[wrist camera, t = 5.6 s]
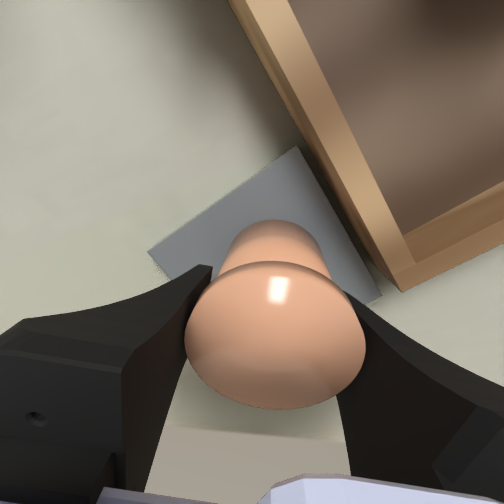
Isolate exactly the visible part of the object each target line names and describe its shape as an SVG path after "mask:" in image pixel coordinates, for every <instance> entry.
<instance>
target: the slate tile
mask: <svg viewBox="0 0 504 504" xmlns="http://www.w3.org/2000/svg"><path fill="white" fill-rule="evenodd" d="M264 220H284V221H289V222H292V223H295V224H297V225H299V226H301V227H302V228H304V229H305V230H307V231H308V232H309V233H310V234H311V235H312V236H313V237H314V238H315V239H316V241H317V243H318V244H319V247H320V249H321V251H322V254H323V257H324V260H325V262H326V265H327V268H328V270H329V273H330V276H331V278H332V281H333V282H334V283H335V284H337V285H338V286H339V287H340V288H341V290H343V291H345V292H347V293H349V294H350V295H352V296H353V297H354V298H356V299H357V300H359V301H360V302H361V303H362V304H366V303H368V302H370V301H372V300H374V299H376V298H378V297H380V296H382V294H381V292H380V291H379V289H378V287H377V285H376V284H375V282H374V280H373V278H372V277H371V275H370V273H369V271H368V270H367V268H366V266H365V264H364V263H363V261H362V259H361V257H360V256H359V254H358V252H357V250H356V248H355V247H354V245H353V243H352V241H351V240H350V238H349V236H348V234H347V233H346V231H345V229H344V227H343V226H342V224H341V222H340V220H339V219H338V217H337V215H336V213H335V212H334V210H333V208H332V206H331V205H330V203H329V201H328V199H327V198H326V196H325V194H324V192H323V190H322V189H321V187H320V185H319V183H318V182H317V180H316V178H315V176H314V175H313V173H312V171H311V169H310V168H309V166H308V164H307V162H306V161H305V159H304V157H303V155H302V154H301V152H300V150H299V148H298V147H297V146H294V147H293V148H291V149H290V150H289V151H287V152H286V153H284V154H283V155H282V156H280V157H279V158H277V159H276V160H275V161H273V162H272V163H270V164H269V165H267V166H266V167H265V168H263V169H262V170H260V171H259V172H258V173H256V174H255V175H253V176H252V177H250V178H249V179H248V180H246V181H245V182H243V183H242V184H241V185H239V186H238V187H236V188H235V189H234V190H232V191H231V192H229V193H228V194H226V195H225V196H224V197H222V198H221V199H219V200H218V201H217V202H215V203H214V204H212V205H211V206H210V207H208V208H207V209H205V210H204V211H202V212H201V213H200V214H198V215H197V216H195V217H194V218H193V219H191V220H190V221H188V222H187V223H186V224H184V225H183V226H181V227H180V228H178V229H177V230H176V231H174V232H173V233H171V234H170V235H169V236H167V237H166V238H164V239H163V240H161V241H160V242H159V243H157V244H156V245H154V246H153V247H152V248H151V249H150V250H148V251H147V253H148V254H149V255H150V256H151V257H152V258H153V260H154V261H155V262H156V263H157V264H158V265H159V266H160V267H161V269H162V270H163V271H164V272H165V273H166V274H167V275H168V276H169V278H170V279H171V280H173V279H175V278H177V277H179V276H180V275H182V274H184V273H185V272H187V271H189V270H190V269H192V268H193V267H195V266H197V265H198V264H202V265H208V266H213V270H212V277H211V282H212V281H213V280H214V279H215V278H217V276H218V273H219V271H220V269H221V266H222V264H223V261H224V259H225V256H226V254H227V251H228V249H229V247H230V245H231V243H232V241H233V240H234V238H235V237H236V236H237V235H238V234H239V233H240V232H241V231H242V230H243V229H245V228H246V227H248V226H250V225H252V224H254V223H257V222H260V221H264Z"/></svg>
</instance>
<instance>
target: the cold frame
mask: <svg viewBox="0 0 504 504" xmlns="http://www.w3.org/2000/svg"><path fill="white" fill-rule="evenodd" d="M227 1H228V3H229V5H230V7H231V8H232V10H233V12H234V14H235V16H236V17H237V19H238V21H239V23H240V25H241V26H242V28H243V30H244V32H245V34H246V35H247V37H248V39H249V41H250V43H251V44H252V46H253V48H254V50H255V52H256V53H257V55H258V57H259V59H260V61H261V62H262V64H263V66H264V68H265V70H266V71H267V73H268V75H269V77H270V79H271V80H272V82H273V84H274V86H275V88H276V89H277V91H278V93H279V95H280V97H281V98H282V100H283V102H284V104H285V106H286V107H287V109H288V111H289V113H290V115H291V116H292V118H293V120H294V122H295V124H296V125H297V127H298V129H299V131H300V133H301V134H302V136H303V138H304V140H305V142H306V143H307V145H308V147H309V149H310V151H311V153H312V154H313V156H314V158H315V160H316V162H317V163H318V165H319V167H320V169H321V171H322V172H323V174H324V176H325V178H326V180H327V181H328V183H329V185H330V187H331V189H332V190H333V192H334V194H335V196H336V198H337V199H338V201H339V203H340V205H341V207H342V208H343V210H344V212H345V214H346V216H347V217H348V219H349V221H350V223H351V225H352V226H353V228H354V230H355V232H356V234H357V235H358V237H359V239H360V241H361V243H362V244H363V246H364V248H365V250H366V252H367V253H368V255H369V257H370V259H371V261H372V262H373V264H374V265H375V266H376V267H377V268H378V269H379V270H380V271H381V272H382V273H383V274H384V275H385V276H386V277H387V278H388V279H389V280H390V281H391V282H392V283H393V284H394V285H395V286H396V287H397V288H398V289H399V290H400V291H401V292H404V291H406V290H408V289H410V288H412V287H414V286H416V285H418V284H420V283H422V282H424V281H427V280H429V279H431V278H433V277H435V276H437V275H439V274H441V273H443V272H445V271H447V270H449V269H451V268H453V267H455V266H457V265H459V264H461V263H463V262H466V261H468V260H470V259H472V258H474V257H476V256H478V255H480V254H482V253H484V252H486V251H488V250H490V249H492V248H494V247H496V246H498V245H500V244H503V243H504V0H227Z"/></svg>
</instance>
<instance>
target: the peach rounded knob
mask: <svg viewBox="0 0 504 504" xmlns="http://www.w3.org/2000/svg"><path fill="white" fill-rule="evenodd" d="M184 342H185V350H186V354H187V357H188V359H189V361H190V364H191V365H192V367H193V369H194V370H195V372H196V373H197V374H198V375H199V377H200V378H201V379H202V380H203V381H204V382H205V383H206V384H207V385H209V386H210V387H211V388H213V389H214V390H215V391H217V392H219V393H220V394H222V395H224V396H226V397H228V398H230V399H232V400H234V401H237V402H239V403H242V404H246V405H249V406H253V407H258V408H265V409H280V410H281V409H295V408H302V407H307V406H311V405H314V404H317V403H320V402H323V401H325V400H327V399H329V398H331V397H333V396H335V395H336V394H338V393H339V392H341V391H342V390H343V389H345V388H346V387H347V386H348V385H349V384H350V383H351V382H352V381H353V380H354V378H355V377H356V376H357V374H358V372H359V371H360V369H361V367H362V364H363V361H364V357H365V351H366V346H365V337H364V333H363V330H362V328H361V325H360V323H359V321H358V318H357V316H356V314H355V311H354V309H353V307H352V304H351V302H350V301H349V299H348V297H347V296H346V294H345V293H344V292H343V291H342V290H341V288H340V287H339V286H338V285H337V284H335V283H334V282H333V281H332V278H331V276H330V273H329V270H328V268H327V265H326V262H325V260H324V257H323V254H322V251H321V249H320V247H319V244H318V243H317V241H316V239H315V238H314V237H313V236H312V235H311V234H310V233H309V232H308V231H307V230H305V229H304V228H302V227H301V226H299V225H297V224H295V223H292V222H289V221H284V220H264V221H260V222H257V223H254V224H252V225H250V226H248V227H246V228H245V229H243V230H242V231H241V232H240V233H239V234H238V235H237V236H236V237H235V238H234V240H233V241H232V243H231V245H230V247H229V249H228V251H227V254H226V256H225V259H224V261H223V264H222V266H221V269H220V271H219V273H218V276H217V278H215V279H214V280H213V281H212V282H211V283H210V284H209V285H208V286H207V287H206V288H205V289H204V291H203V292H202V293H201V295H200V297H199V299H198V301H197V303H196V305H195V307H194V309H193V312H192V314H191V316H190V318H189V320H188V322H187V326H186V329H185V337H184Z"/></svg>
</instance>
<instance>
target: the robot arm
mask: <svg viewBox="0 0 504 504" xmlns="http://www.w3.org/2000/svg"><path fill="white" fill-rule="evenodd" d="M212 270H213V266H208V265H202V264H198V265H197V266H195V267H193V268H192V269H190V270H189V271H187V272H185V273H184V274H182V275H180V276H179V277H177V278H175V279H173V280H171V281H169V282H167V283H165V284H163V285H161V286H160V287H158V288H155V289H153V290H151V291H148V292H146V293H143V294H141V295H138V296H135V297H132V298H129V299H126V300H122V301H119V302H116V303H112V304H109V305H105V306H101V307H96V308H92V309H87V310H82V311H77V312H71V313H65V314H57V315H50V316H43V317H35V318H26V319H23V320H21V321H20V322H18V323H17V324H15V325H14V326H13V327H11V328H10V329H8V330H7V331H5V332H4V333H3V334H1V335H0V504H216V503H210V502H203V501H196V500H189V499H183V498H176V497H169V496H162V495H156V494H149V493H144V490H145V486H146V483H147V480H148V476H149V473H150V469H151V466H152V462H153V459H154V456H155V452H156V449H157V446H158V443H159V439H160V436H161V433H162V430H163V427H164V423H165V420H166V417H167V414H168V411H169V408H170V404H171V401H172V398H173V395H174V392H175V389H176V386H177V383H178V380H179V377H180V374H181V372H182V369H183V366H184V364H185V362H186V360H187V354H186V350H185V342H184V337H185V329H186V326H187V322H188V320H189V318H190V316H191V314H192V312H193V309H194V307H195V305H196V303H197V301H198V299H199V297H200V295H201V293H202V292H203V291H204V289H205V288H206V287H207V286H208V285H209V284H210V283H211V277H212ZM342 291H343V290H342ZM343 292H344V293H345V294H346V296H347V297H348V299H349V301H350V302H351V304H352V307H353V309H354V311H355V314H356V316H357V318H358V321H359V323H360V325H361V328H362V330H363V333H364V337H365V346H366V351H365V357H364V361H363V364H362V367H361V369H360V371H359V372H358V374H357V376H356V377H355V378H354V380H353V381H352V382H351V383H350V384H349V385H348V386H347V387H346V388H345V389H343V390H342V391H341V392H339V393H338V394H336V397H337V401H338V405H339V410H340V415H341V420H342V425H343V429H344V435H345V441H346V447H347V452H348V458H349V464H350V471H351V476H348V475H341V474H302V475H299V476H296V477H293V478H290V479H287V480H284V481H282V482H278V483H276V484H275V485H274V486H273V487H272V488H271V489H270V490H269V491H268V492H267V493H266V494H265V495H264V496H263V497H262V499H261V500H260V501H259V502H258V503H257V504H504V387H502V386H500V385H498V384H496V383H494V382H491V381H489V380H487V379H485V378H483V377H481V376H478V375H476V374H474V373H472V372H470V371H468V370H466V369H464V368H462V367H460V366H458V365H456V364H455V363H453V362H451V361H449V360H447V359H445V358H443V357H441V356H440V355H438V354H436V353H434V352H432V351H431V350H429V349H427V348H426V347H424V346H422V345H421V344H419V343H417V342H416V341H414V340H413V339H411V338H409V337H408V336H406V335H405V334H403V333H402V332H400V331H399V330H398V329H396V328H395V327H393V326H392V325H390V324H389V323H388V322H386V321H385V320H384V319H382V318H381V317H380V316H378V315H377V314H376V313H374V312H373V311H372V310H370V309H369V308H368V307H366V306H365V305H364V304H362V303H361V302H360V301H359V300H357V299H356V298H354V297H353V296H352V295H350V294H349V293H347V292H345V291H343Z"/></svg>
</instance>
